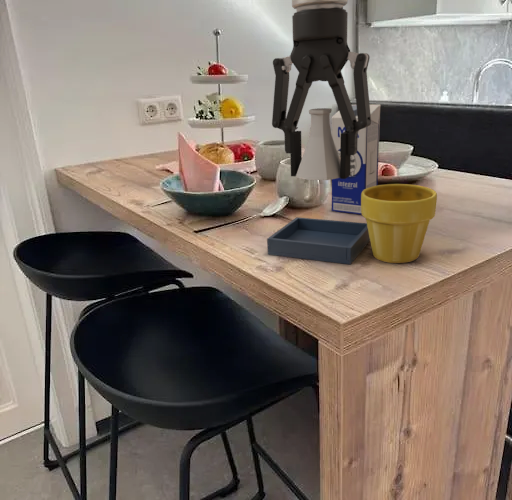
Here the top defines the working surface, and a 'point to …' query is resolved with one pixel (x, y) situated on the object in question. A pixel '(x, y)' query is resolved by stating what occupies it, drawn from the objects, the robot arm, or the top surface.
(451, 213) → the top surface
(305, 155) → the flask
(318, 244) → the tray
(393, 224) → the flower pot
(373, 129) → the milk carton
